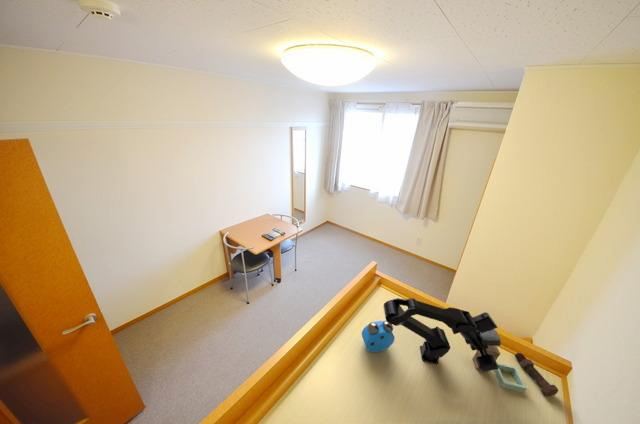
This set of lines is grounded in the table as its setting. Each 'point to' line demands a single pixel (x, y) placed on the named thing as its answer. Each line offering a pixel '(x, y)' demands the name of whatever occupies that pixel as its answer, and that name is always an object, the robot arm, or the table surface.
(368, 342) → the alarm clock
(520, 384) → the collar
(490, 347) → the peg
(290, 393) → the table surface
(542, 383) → the bolt
